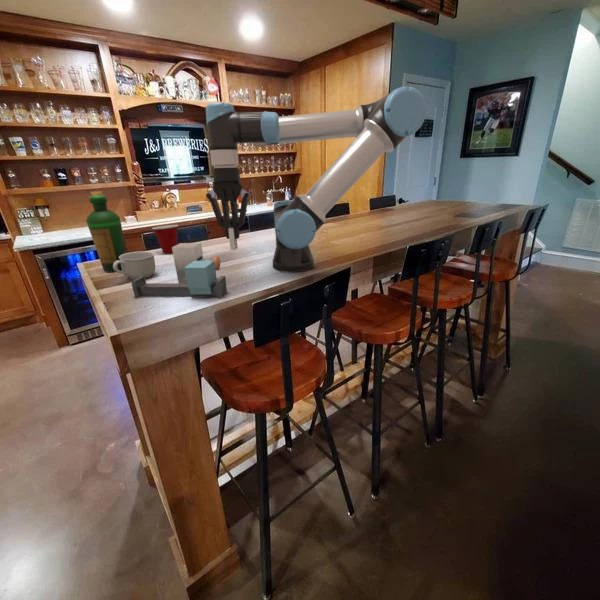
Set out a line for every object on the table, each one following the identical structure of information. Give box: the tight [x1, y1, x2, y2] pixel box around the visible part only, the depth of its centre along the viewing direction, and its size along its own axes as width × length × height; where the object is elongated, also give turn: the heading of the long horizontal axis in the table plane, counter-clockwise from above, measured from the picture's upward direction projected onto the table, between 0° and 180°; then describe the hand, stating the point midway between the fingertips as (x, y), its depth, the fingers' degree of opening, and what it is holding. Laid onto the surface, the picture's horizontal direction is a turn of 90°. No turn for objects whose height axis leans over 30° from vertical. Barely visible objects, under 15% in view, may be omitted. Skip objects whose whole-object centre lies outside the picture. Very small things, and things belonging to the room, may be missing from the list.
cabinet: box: [172, 242, 204, 283], centre depth 103 cm, size 7×6×12 cm
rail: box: [130, 275, 228, 299], centre depth 93 cm, size 26×5×5 cm, turn 85°
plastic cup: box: [151, 224, 179, 255], centre depth 141 cm, size 11×11×12 cm
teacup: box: [113, 250, 156, 280], centre depth 109 cm, size 14×11×8 cm
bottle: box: [85, 190, 127, 273], centre depth 115 cm, size 11×11×28 cm
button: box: [199, 255, 221, 271], centre depth 102 cm, size 6×4×4 cm
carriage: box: [184, 261, 218, 294], centre depth 91 cm, size 6×7×8 cm
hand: (234, 248), depth 99 cm, fingers closed
